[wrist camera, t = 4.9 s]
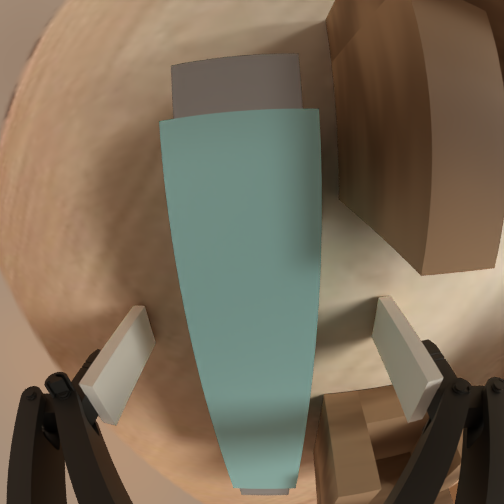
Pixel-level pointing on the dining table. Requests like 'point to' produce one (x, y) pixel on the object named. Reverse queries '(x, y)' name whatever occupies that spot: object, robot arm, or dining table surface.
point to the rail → (248, 253)
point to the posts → (411, 190)
